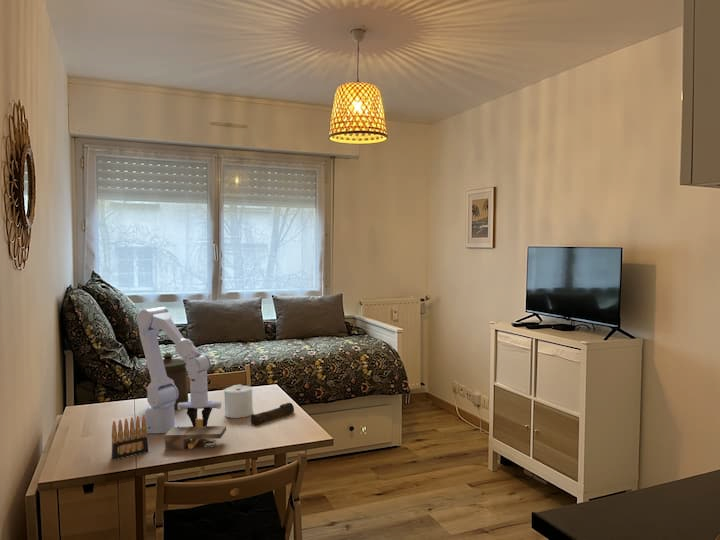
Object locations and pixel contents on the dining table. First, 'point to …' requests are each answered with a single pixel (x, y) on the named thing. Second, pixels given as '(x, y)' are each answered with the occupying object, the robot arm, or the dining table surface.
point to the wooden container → (177, 377)
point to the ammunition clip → (129, 439)
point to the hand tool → (273, 413)
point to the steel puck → (210, 442)
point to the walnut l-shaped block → (191, 435)
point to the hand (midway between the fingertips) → (200, 429)
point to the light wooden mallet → (194, 441)
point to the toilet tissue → (238, 401)
